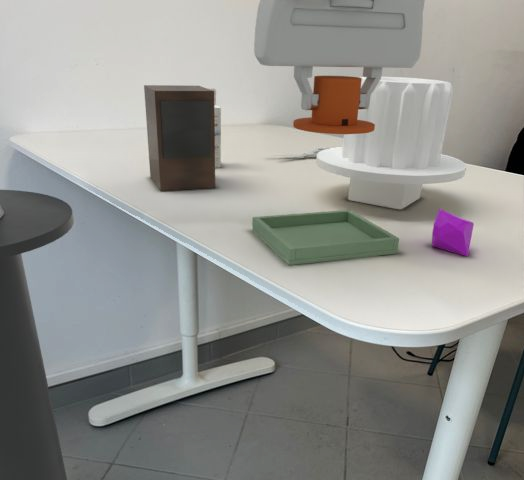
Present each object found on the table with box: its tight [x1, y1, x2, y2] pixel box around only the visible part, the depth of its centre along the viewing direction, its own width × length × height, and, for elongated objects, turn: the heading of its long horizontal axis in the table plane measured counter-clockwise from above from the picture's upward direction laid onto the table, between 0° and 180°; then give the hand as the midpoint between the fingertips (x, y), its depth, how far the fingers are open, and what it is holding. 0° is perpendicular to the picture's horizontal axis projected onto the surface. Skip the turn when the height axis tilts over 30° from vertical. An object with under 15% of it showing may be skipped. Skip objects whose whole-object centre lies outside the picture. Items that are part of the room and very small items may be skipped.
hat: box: [292, 75, 375, 135], centre depth 65 cm, size 10×10×6 cm
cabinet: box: [143, 84, 216, 192], centre depth 96 cm, size 10×10×16 cm
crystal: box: [431, 208, 474, 257], centre depth 72 cm, size 5×5×5 cm
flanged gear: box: [315, 76, 467, 210], centre depth 90 cm, size 25×25×19 cm
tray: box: [251, 209, 400, 266], centre depth 73 cm, size 16×14×2 cm
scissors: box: [272, 146, 331, 160], centre depth 125 cm, size 11×1×20 cm
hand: (334, 109), depth 65 cm, fingers closed on hat, 5 cm apart
